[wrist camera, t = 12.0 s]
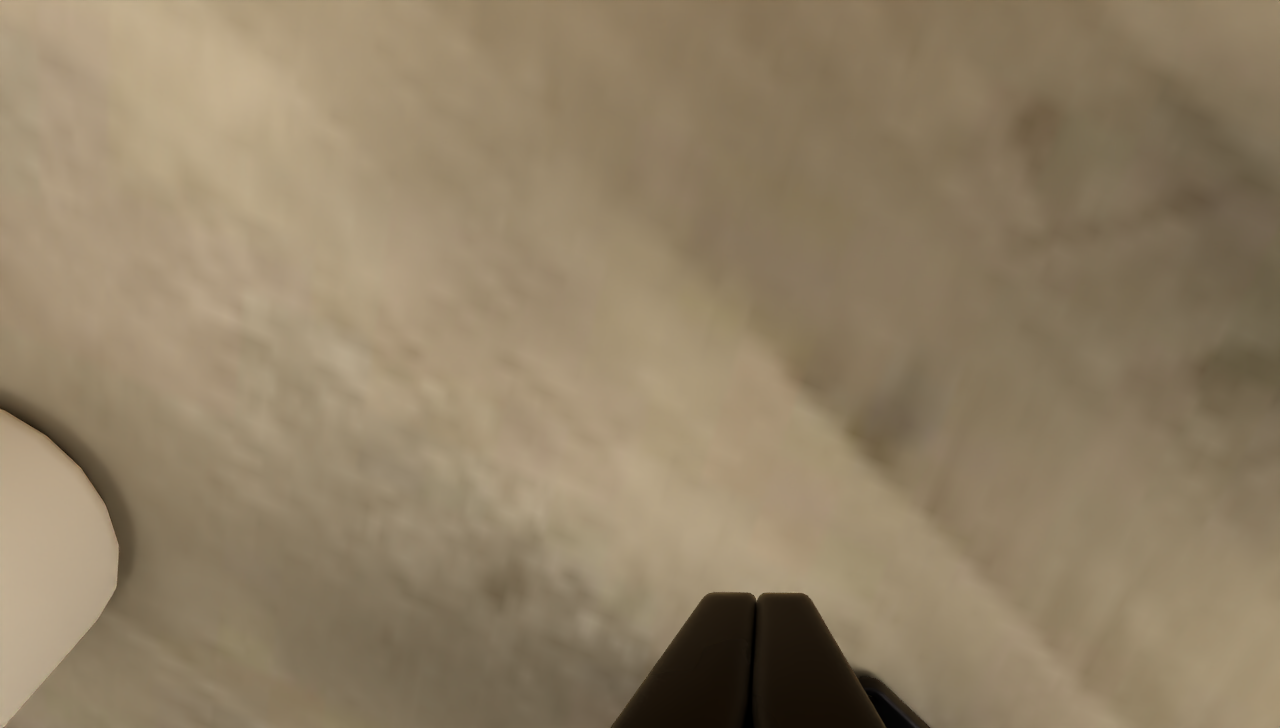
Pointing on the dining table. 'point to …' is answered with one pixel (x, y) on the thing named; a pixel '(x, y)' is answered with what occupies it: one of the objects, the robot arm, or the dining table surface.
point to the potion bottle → (46, 559)
